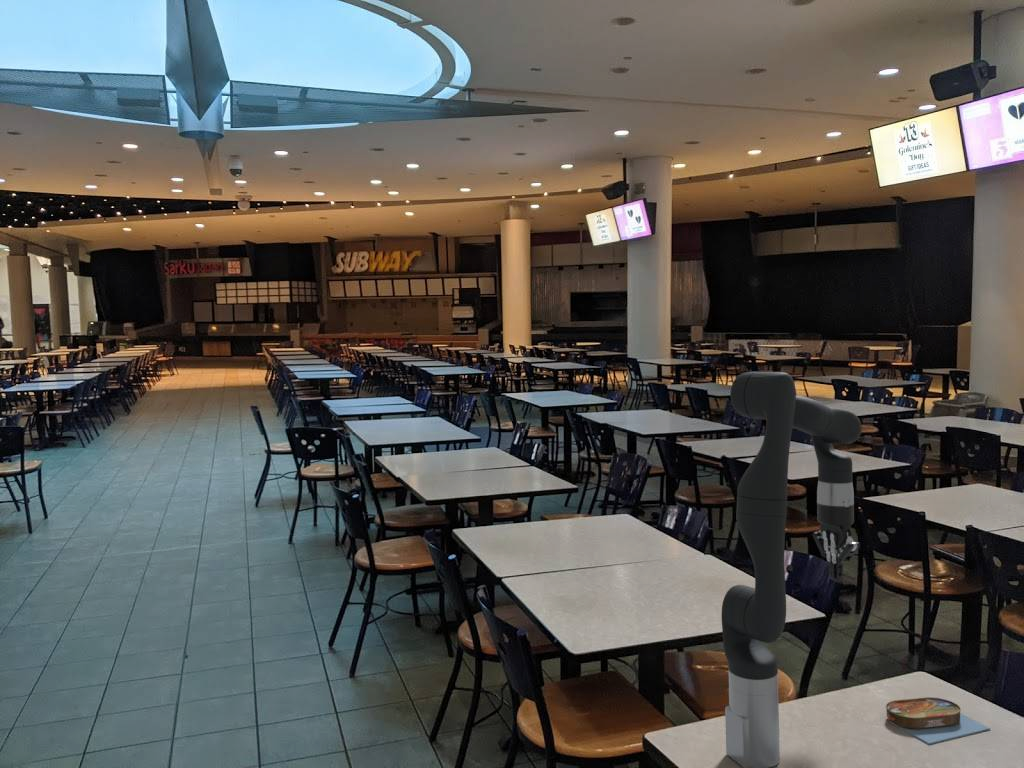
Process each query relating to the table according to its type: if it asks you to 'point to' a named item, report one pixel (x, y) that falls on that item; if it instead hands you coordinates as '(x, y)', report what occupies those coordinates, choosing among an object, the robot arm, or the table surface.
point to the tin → (923, 713)
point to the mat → (947, 730)
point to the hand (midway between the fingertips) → (835, 579)
